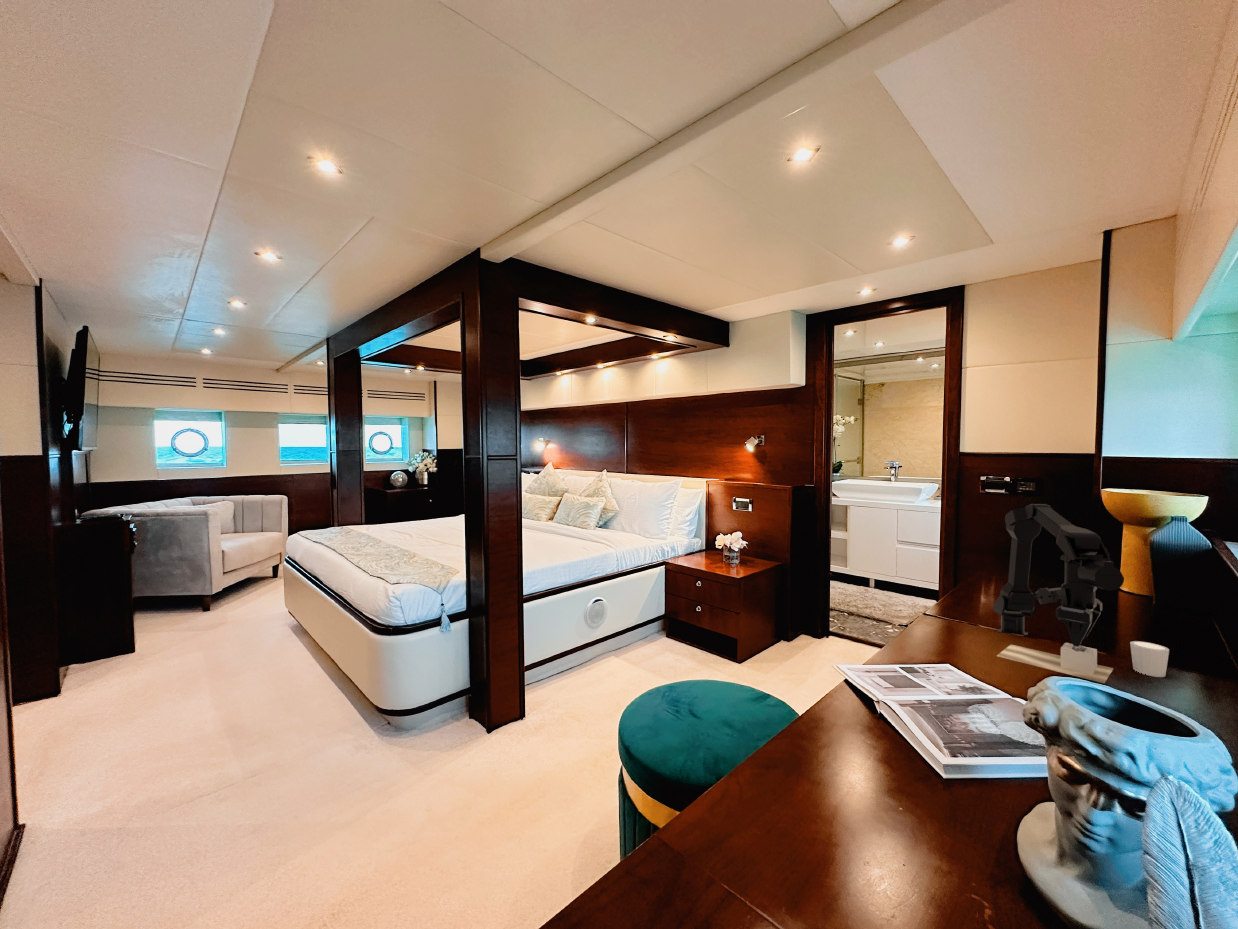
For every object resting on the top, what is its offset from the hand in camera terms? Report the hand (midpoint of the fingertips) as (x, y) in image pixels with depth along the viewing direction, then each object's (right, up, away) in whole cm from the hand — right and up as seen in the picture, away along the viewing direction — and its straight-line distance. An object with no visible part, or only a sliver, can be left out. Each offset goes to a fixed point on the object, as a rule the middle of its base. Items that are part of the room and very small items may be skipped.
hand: (1079, 642), depth 125 cm
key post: (0, -7, 0) cm, 7 cm away
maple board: (-3, -8, +4) cm, 10 cm away
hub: (0, -7, 0) cm, 7 cm away
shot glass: (+19, -9, +2) cm, 21 cm away
